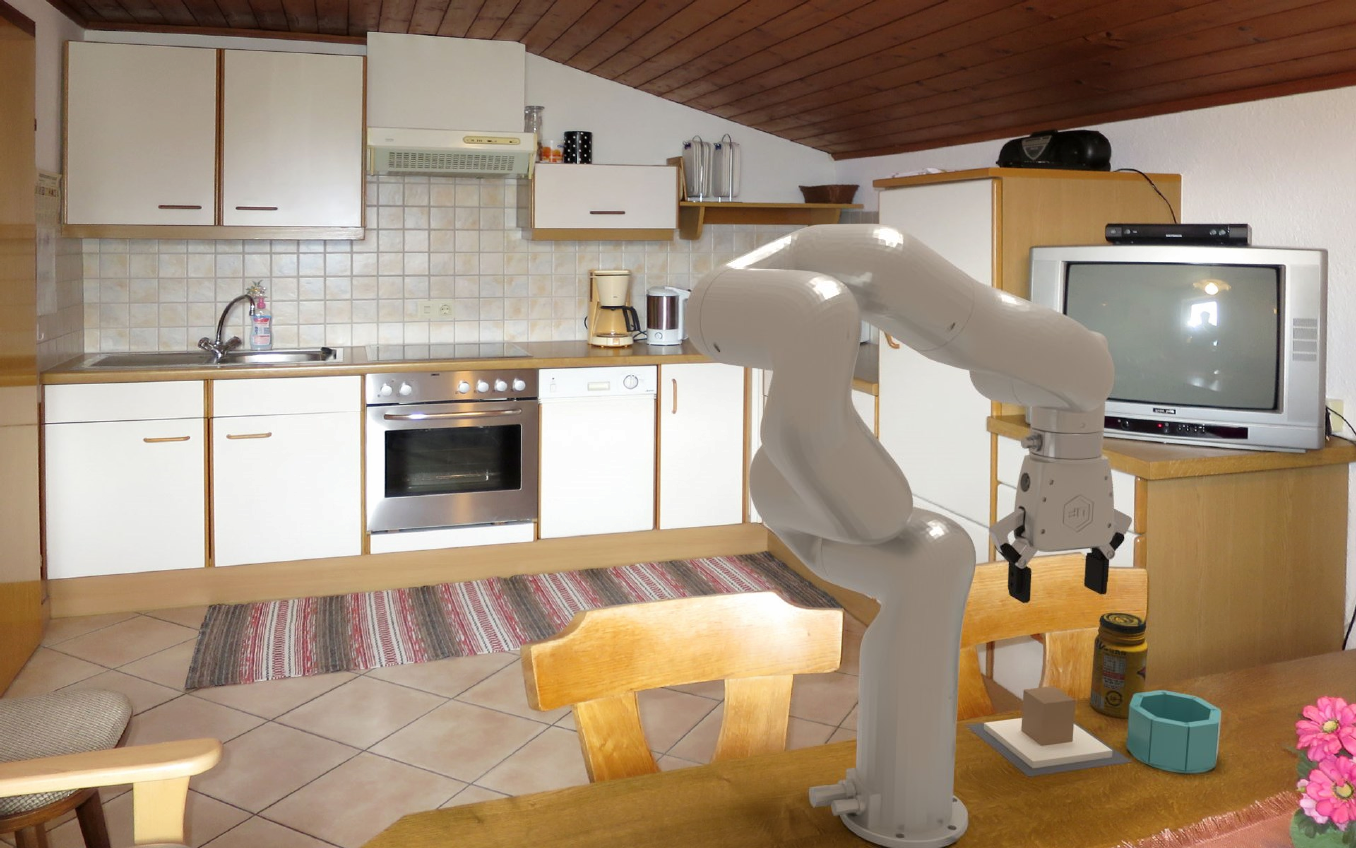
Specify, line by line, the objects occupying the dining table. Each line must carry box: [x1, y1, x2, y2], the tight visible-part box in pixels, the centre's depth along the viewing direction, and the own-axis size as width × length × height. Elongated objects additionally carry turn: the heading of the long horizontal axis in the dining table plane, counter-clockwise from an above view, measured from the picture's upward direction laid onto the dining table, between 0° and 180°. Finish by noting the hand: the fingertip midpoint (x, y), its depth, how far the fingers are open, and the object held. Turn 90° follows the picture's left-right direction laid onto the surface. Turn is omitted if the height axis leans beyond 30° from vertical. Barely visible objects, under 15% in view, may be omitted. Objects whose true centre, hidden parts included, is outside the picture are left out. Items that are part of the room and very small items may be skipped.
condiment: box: [1089, 612, 1149, 719], centre depth 134 cm, size 7×8×12 cm
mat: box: [965, 721, 1133, 778], centre depth 126 cm, size 13×13×1 cm
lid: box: [983, 685, 1113, 768], centre depth 126 cm, size 10×10×6 cm
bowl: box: [1126, 689, 1222, 774], centre depth 123 cm, size 9×9×6 cm
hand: (1057, 594), depth 123 cm, fingers open, 9 cm apart
